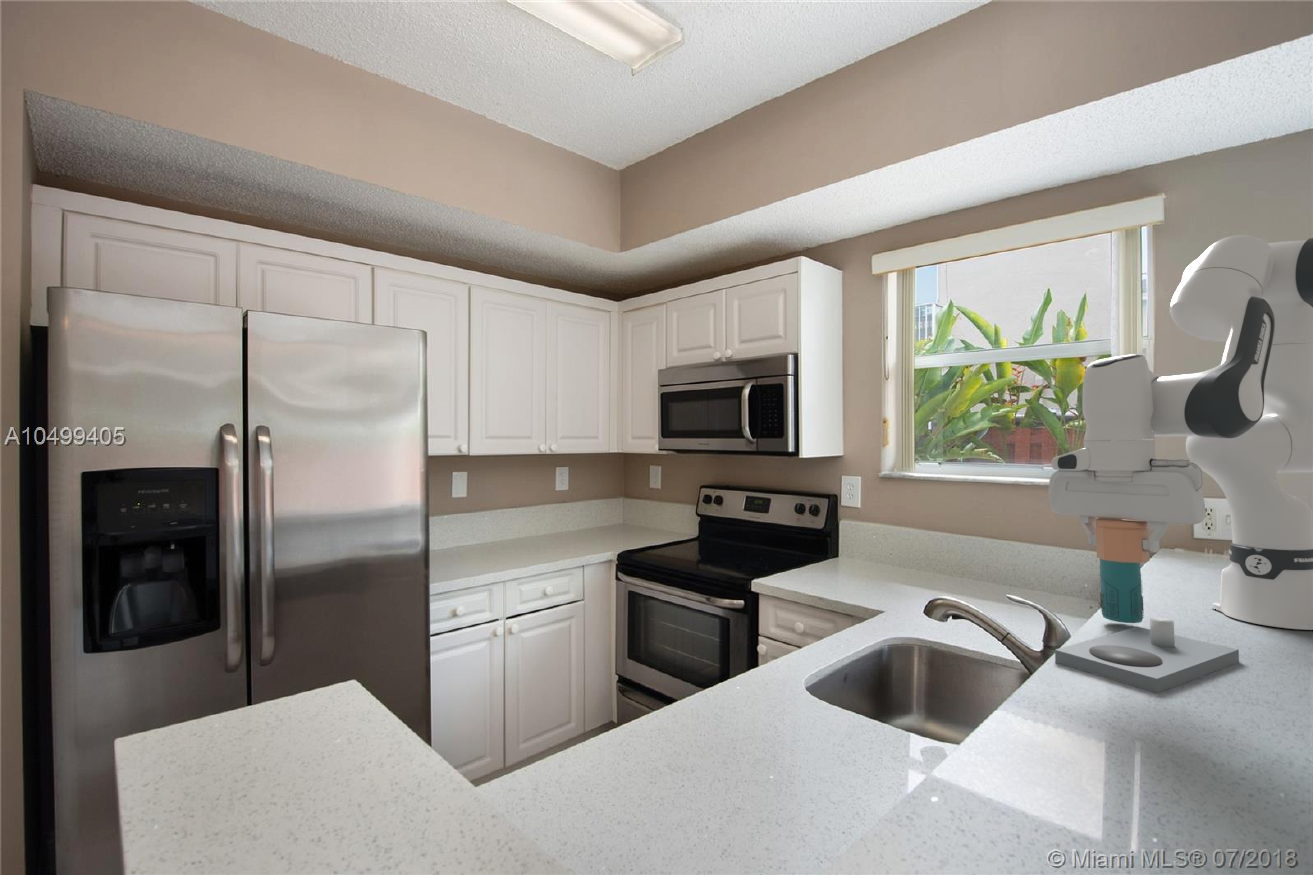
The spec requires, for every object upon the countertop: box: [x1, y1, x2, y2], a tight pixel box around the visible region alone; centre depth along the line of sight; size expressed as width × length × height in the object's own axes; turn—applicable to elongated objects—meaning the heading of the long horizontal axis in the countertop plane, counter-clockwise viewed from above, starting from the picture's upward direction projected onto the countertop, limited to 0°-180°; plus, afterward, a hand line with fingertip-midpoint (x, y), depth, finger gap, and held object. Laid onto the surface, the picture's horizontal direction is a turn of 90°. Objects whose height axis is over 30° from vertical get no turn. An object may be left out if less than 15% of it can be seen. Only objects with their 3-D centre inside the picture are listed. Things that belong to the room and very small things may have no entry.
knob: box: [1095, 517, 1150, 564], centre depth 95 cm, size 6×6×6 cm
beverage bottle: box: [1099, 558, 1145, 624], centre depth 116 cm, size 6×7×20 cm
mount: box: [1054, 616, 1240, 694], centre depth 97 cm, size 24×14×6 cm, turn 116°
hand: (1122, 548), depth 95 cm, fingers closed on knob, 6 cm apart
